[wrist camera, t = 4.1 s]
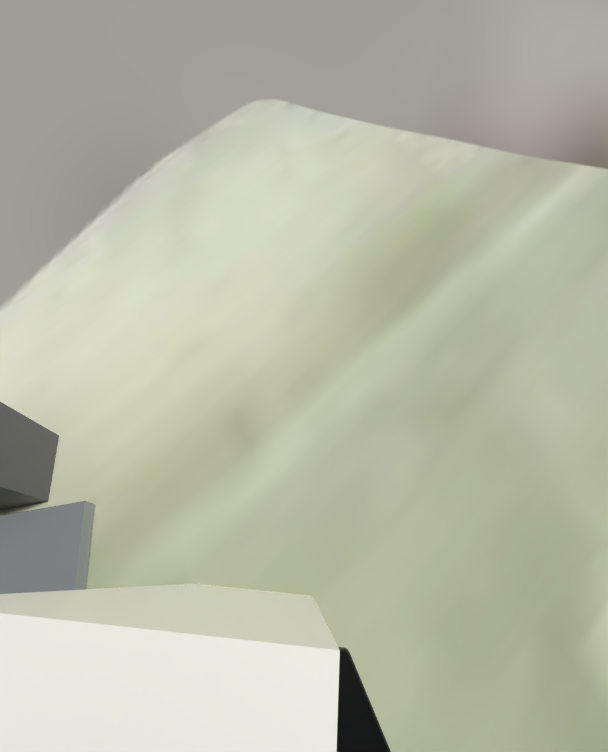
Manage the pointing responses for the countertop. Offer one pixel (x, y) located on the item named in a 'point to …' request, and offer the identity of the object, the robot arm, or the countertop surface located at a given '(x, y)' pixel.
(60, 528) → the charging dock
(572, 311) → the countertop surface
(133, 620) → the brick
